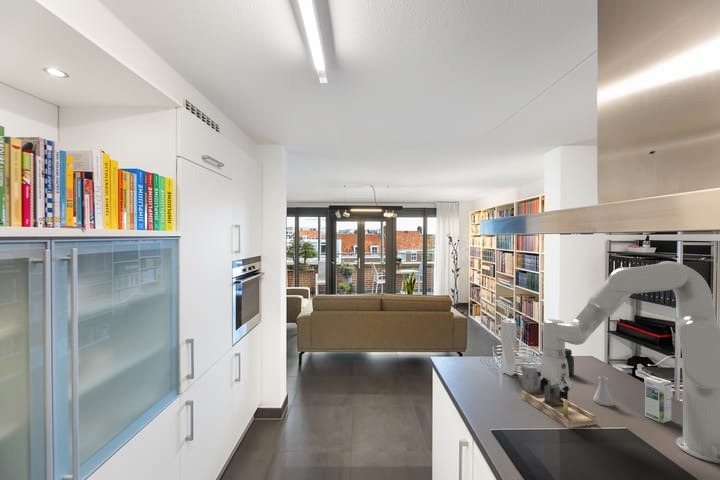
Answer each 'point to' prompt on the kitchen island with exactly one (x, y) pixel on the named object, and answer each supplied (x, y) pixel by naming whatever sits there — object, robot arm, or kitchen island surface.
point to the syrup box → (658, 399)
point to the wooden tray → (558, 409)
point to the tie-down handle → (552, 395)
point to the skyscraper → (508, 346)
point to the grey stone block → (531, 375)
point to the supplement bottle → (570, 361)
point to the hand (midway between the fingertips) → (553, 395)
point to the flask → (603, 393)
